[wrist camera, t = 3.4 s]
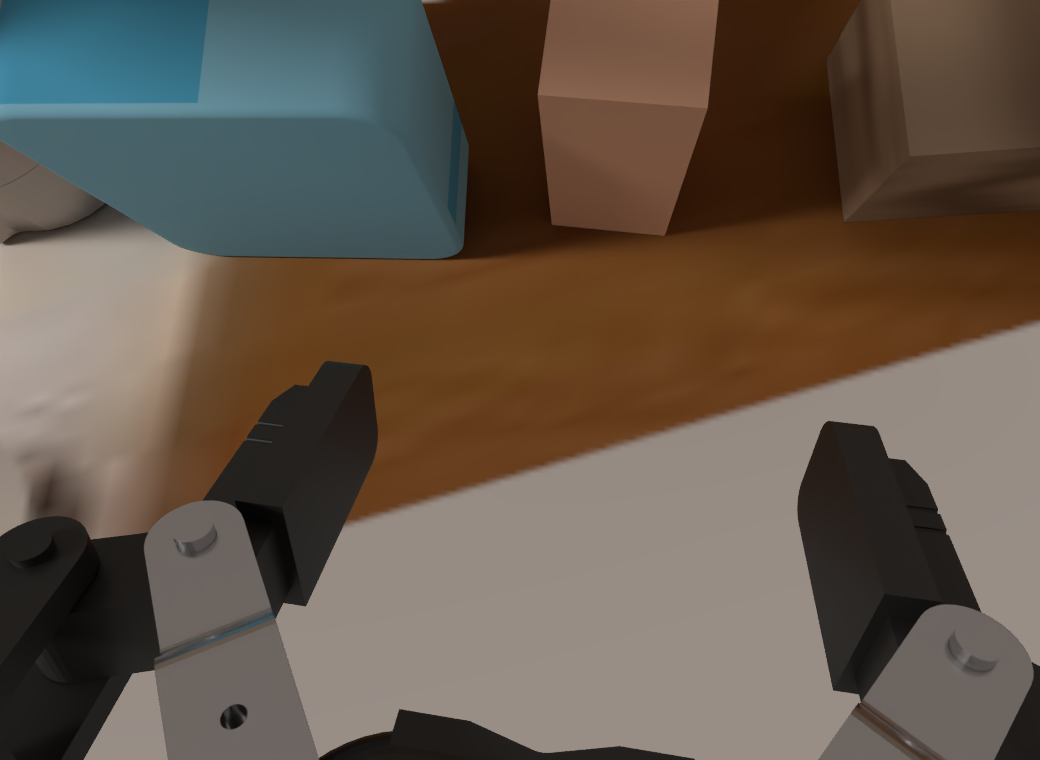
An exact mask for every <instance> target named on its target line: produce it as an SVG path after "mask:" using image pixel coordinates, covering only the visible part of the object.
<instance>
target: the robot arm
mask: <svg viewBox="0 0 1040 760" xmlns="http://www.w3.org/2000/svg"><path fill="white" fill-rule="evenodd" d="M0 6H1V0H0ZM104 204H105V203H104V202H103V201H101V200H99V199H98V198H96V197H94V196H93V195H91V194H89V193H88V192H86V191H84V190H82V189H81V188H79V187H77V186H76V185H74V184H72V183H71V182H69V181H67V180H66V179H64V178H62V177H61V176H59V175H57V174H56V173H54V172H52V171H51V170H49V169H47V168H46V167H44V166H42V165H41V164H39V163H37V162H36V161H34V160H32V159H30V158H29V157H27V156H25V155H24V154H22V153H20V152H19V151H17V150H15V149H14V148H12V147H10V146H9V145H7V144H5V143H4V142H2V141H1V140H0V244H1V243H3V242H4V241H5V240H7V239H8V238H9V237H11V236H12V235H14V234H16V233H18V232H24V231H44V230H51V229H55V228H59V227H63V226H67V225H70V224H72V223H74V222H76V221H78V220H81V219H83V218H85V217H87V216H89V215H90V214H92V213H93V212H94V211H96V210H97V209H98V208H100V207H101V206H103V205H104ZM377 441H378V427H377V419H376V410H375V402H374V393H373V384H372V376H371V371H370V369H369V367H368V366H366V365H358V364H349V363H341V362H332V361H326V362H325V363H324V364H323V365H322V366H321V368H320V369H319V371H318V372H317V374H316V375H315V377H314V379H313V380H312V382H311V383H310V385H309V386H301V385H294V386H293V387H291V388H290V389H288V390H287V391H285V392H284V393H283V394H281V395H280V396H278V397H277V398H275V399H274V400H273V401H272V402H271V403H270V404H269V406H268V407H267V409H266V410H265V412H264V413H263V415H262V416H261V417H260V419H259V420H258V425H255V426H254V427H253V429H252V430H251V432H250V433H249V435H248V436H247V441H244V442H243V443H242V445H241V446H240V448H239V449H238V450H237V452H236V453H235V455H234V456H233V458H232V459H231V460H230V462H229V463H228V465H227V466H226V468H225V469H224V470H223V472H222V473H221V475H220V476H219V478H218V479H217V481H216V482H215V483H214V485H213V486H212V488H211V489H210V491H209V492H208V493H207V495H206V496H205V498H204V499H203V500H202V501H199V502H194V503H190V504H186V505H184V506H181V507H179V508H177V509H175V510H173V511H171V512H169V513H168V514H166V515H165V516H163V517H162V518H161V519H160V520H159V521H157V523H156V524H155V525H154V526H153V527H152V528H151V530H150V531H149V532H147V533H141V534H134V535H126V536H117V537H109V538H101V539H93V540H91V539H90V537H89V535H88V533H87V531H86V529H85V527H84V526H83V525H82V524H81V523H80V522H78V521H77V520H74V519H72V518H68V517H58V516H53V517H45V518H40V519H35V520H32V521H29V522H26V523H24V524H21V525H19V526H17V527H15V528H13V529H11V530H10V531H8V532H6V533H5V534H3V535H2V536H1V537H0V760H84V758H85V756H86V754H87V753H88V751H89V749H90V747H91V745H92V744H93V742H94V740H95V738H96V737H97V735H98V733H99V731H100V730H101V728H102V726H103V724H104V723H105V721H106V719H107V717H108V715H109V714H110V712H111V710H112V708H113V706H114V705H115V703H116V701H117V700H118V698H119V696H120V694H121V693H122V691H123V689H124V687H125V685H126V684H127V682H128V680H129V679H130V677H131V675H132V673H139V672H145V671H152V670H155V676H156V683H157V690H158V696H159V703H160V709H161V716H162V722H163V729H164V736H165V743H166V749H167V756H168V760H695V759H692V758H686V757H680V756H674V755H668V754H662V753H657V752H651V751H645V750H639V749H632V748H626V747H621V746H618V747H608V748H597V749H586V750H576V751H565V752H555V753H541V752H537V751H534V750H532V749H530V748H527V747H525V746H523V745H520V744H519V743H516V742H514V741H512V740H510V739H508V738H505V737H503V736H501V735H499V734H497V733H494V732H492V731H490V730H488V729H486V728H483V727H481V726H479V725H477V724H475V723H472V722H471V721H466V720H460V719H454V718H448V717H442V716H437V715H431V714H425V713H419V712H413V711H407V710H399V712H398V716H397V719H396V722H395V725H394V729H393V731H391V732H382V733H378V734H373V735H369V736H365V737H362V738H359V739H356V740H354V741H351V742H348V743H346V744H344V745H342V746H340V747H338V748H336V749H333V750H331V751H329V752H328V753H326V754H325V755H323V756H322V757H320V758H319V757H318V754H317V751H316V748H315V745H314V741H313V738H312V735H311V732H310V729H309V725H308V722H307V719H306V716H305V713H304V709H303V706H302V703H301V700H300V697H299V693H298V690H297V687H296V684H295V681H294V678H293V674H292V671H291V668H290V665H289V661H288V658H287V655H286V652H285V649H284V645H283V642H282V639H281V636H280V633H279V630H278V626H277V623H276V620H275V619H276V617H277V615H278V613H279V611H280V609H281V607H282V605H283V603H288V604H294V605H301V606H306V605H307V603H308V600H309V598H310V596H311V594H312V592H313V590H314V588H315V586H316V584H317V581H318V579H319V577H320V575H321V573H322V571H323V568H324V566H325V564H326V562H327V560H328V558H329V556H330V553H331V551H332V549H333V547H334V545H335V543H336V540H337V538H338V536H339V534H340V532H341V530H342V528H343V525H344V523H345V521H346V519H347V517H348V515H349V512H350V510H351V508H352V506H353V504H354V502H355V500H356V497H357V495H358V493H359V491H360V489H361V487H362V484H363V482H364V480H365V478H366V476H367V474H368V471H369V469H370V467H371V465H372V463H373V460H374V457H375V453H376V448H377ZM797 510H798V521H799V527H800V532H801V536H802V541H803V546H804V551H805V556H806V561H807V565H808V570H809V575H810V580H811V585H812V590H813V595H814V600H815V604H816V609H817V614H818V619H819V624H820V629H821V634H822V638H823V643H824V648H825V653H826V658H827V663H828V668H829V672H830V677H831V682H832V687H833V690H834V691H841V692H848V693H854V694H859V696H860V700H861V703H860V704H859V703H858V705H857V706H856V707H855V709H853V711H852V712H851V714H850V715H849V716H848V718H847V719H846V721H845V722H844V724H843V725H842V726H841V728H840V729H839V731H838V732H837V734H836V735H835V737H834V738H833V739H832V741H831V742H830V744H829V745H828V747H827V748H826V750H825V751H824V753H823V754H822V755H821V757H820V758H819V760H1040V666H1038V665H1036V664H1034V663H1033V662H1031V660H1030V657H1029V655H1028V653H1027V652H1026V650H1025V648H1024V647H1023V645H1022V644H1021V643H1020V642H1019V640H1018V639H1017V638H1016V637H1015V636H1014V635H1013V634H1012V633H1011V632H1010V631H1009V630H1008V629H1006V628H1005V627H1004V626H1003V625H1002V624H1000V623H999V622H997V621H995V620H994V619H993V618H991V617H989V616H987V615H985V614H983V613H982V612H981V610H980V608H979V606H978V603H977V601H976V598H975V596H974V594H973V591H972V589H971V587H970V584H969V582H968V579H967V578H966V575H965V572H964V570H963V568H962V565H961V563H960V560H959V558H958V556H957V553H956V551H955V549H954V546H953V544H952V541H951V539H950V537H949V535H946V527H945V525H944V522H943V520H942V518H941V515H940V514H938V513H937V511H938V508H937V506H936V503H935V501H934V498H933V496H932V494H931V491H930V489H929V487H928V484H927V483H926V482H925V481H924V480H923V479H922V478H921V477H920V476H919V475H918V473H916V471H915V470H914V469H913V468H912V467H911V466H910V465H909V464H908V463H907V462H906V461H905V460H898V459H890V458H888V456H887V453H886V450H885V448H884V445H883V442H882V440H881V437H880V434H879V432H878V430H877V429H876V428H875V427H874V426H867V425H858V424H849V423H841V422H833V421H828V422H826V423H825V424H824V425H823V427H822V429H821V431H820V434H819V437H818V440H817V442H816V445H815V448H814V450H813V453H812V456H811V459H810V461H809V464H808V467H807V470H806V472H805V475H804V478H803V480H802V483H801V486H800V490H799V496H798V509H797Z"/></svg>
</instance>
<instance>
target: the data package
mask: <svg viewBox="0 0 1040 760" xmlns="http://www.w3.org/2000/svg"><path fill="white" fill-rule="evenodd" d="M0 140H1V141H2V142H4V143H5V144H7V145H9V146H10V147H12V148H14V149H15V150H17V151H19V152H20V153H22V154H24V155H25V156H27V157H29V158H30V159H32V160H34V161H36V162H37V163H39V164H41V165H42V166H44V167H46V168H47V169H49V170H51V171H52V172H54V173H56V174H57V175H59V176H61V177H62V178H64V179H66V180H67V181H69V182H71V183H72V184H74V185H76V186H77V187H79V188H81V189H82V190H84V191H86V192H88V193H89V194H91V195H93V196H94V197H96V198H98V199H99V200H101V201H103V202H104V203H106V204H108V205H109V206H111V207H113V208H114V209H116V210H118V211H119V212H121V213H123V214H124V215H126V216H128V217H129V218H131V219H133V220H134V221H136V222H138V223H140V224H141V225H143V226H145V227H146V228H148V229H150V230H151V231H153V232H155V233H156V234H158V235H160V236H161V237H163V238H165V239H166V240H168V241H170V242H171V243H173V244H175V245H177V246H179V247H182V248H184V249H187V250H191V251H194V252H199V253H203V254H210V255H218V256H260V257H328V258H396V259H439V258H446V257H450V256H453V255H455V254H457V253H459V252H460V251H461V250H462V248H463V245H464V230H465V212H466V193H467V175H468V157H469V145H468V141H467V138H466V135H465V132H464V129H463V126H462V123H461V120H460V117H459V114H458V111H457V108H456V105H455V102H454V99H453V95H452V92H451V89H450V86H449V83H448V80H447V77H446V74H445V71H444V68H443V65H442V62H441V59H440V56H439V53H438V50H437V47H436V44H435V40H434V37H433V34H432V31H431V28H430V25H429V22H428V19H427V16H426V13H425V10H424V7H423V4H422V1H421V0H1V6H0Z"/></svg>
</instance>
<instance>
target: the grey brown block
mask: <svg viewBox="0 0 1040 760" xmlns="http://www.w3.org/2000/svg"><path fill="white" fill-rule="evenodd" d="M826 63H827V72H828V82H829V91H830V100H831V109H832V118H833V127H834V137H835V146H836V155H837V164H838V173H839V182H840V192H841V201H842V210H843V219H844V222H859V221H875V220H890V219H906V218H921V217H937V216H953V215H968V214H984V213H1000V212H1015V211H1031V210H1040V0H860V2H859V4H858V6H857V7H856V9H855V11H854V13H853V14H852V16H851V18H850V20H849V21H848V23H847V25H846V26H845V28H844V30H843V32H842V33H841V35H840V37H839V39H838V40H837V42H836V44H835V46H834V47H833V49H832V51H831V53H830V54H829V56H828V58H827V59H826Z"/></svg>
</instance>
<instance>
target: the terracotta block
mask: <svg viewBox="0 0 1040 760" xmlns="http://www.w3.org/2000/svg"><path fill="white" fill-rule="evenodd" d="M718 3H719V0H551V1H550V9H549V16H548V23H547V30H546V38H545V45H544V52H543V60H542V67H541V74H540V82H539V89H538V102H539V111H540V121H541V130H542V139H543V148H544V157H545V166H546V175H547V185H548V194H549V203H550V212H551V221H552V225H557V226H568V227H578V228H588V229H599V230H609V231H619V232H630V233H640V234H650V235H661V236H665V234H666V231H667V228H668V225H669V222H670V219H671V216H672V213H673V210H674V207H675V204H676V201H677V198H678V195H679V192H680V189H681V186H682V183H683V180H684V177H685V174H686V171H687V168H688V165H689V162H690V159H691V156H692V153H693V150H694V147H695V144H696V141H697V138H698V135H699V133H700V130H701V127H702V124H703V121H704V118H705V115H706V112H707V109H708V100H709V90H710V81H711V71H712V61H713V51H714V42H715V32H716V22H717V12H718Z"/></svg>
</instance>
